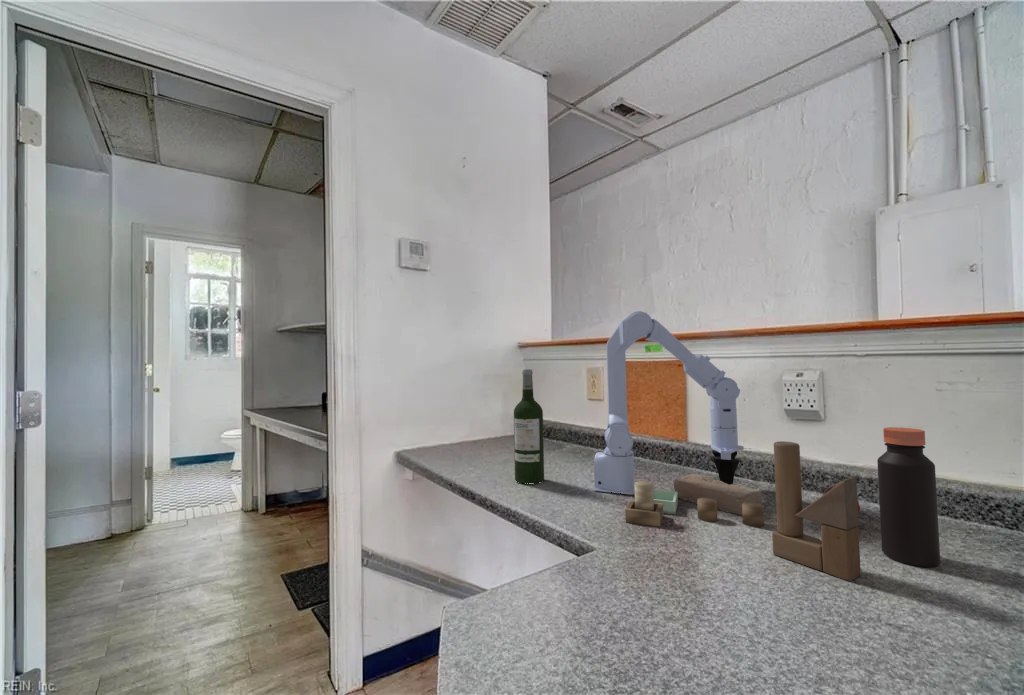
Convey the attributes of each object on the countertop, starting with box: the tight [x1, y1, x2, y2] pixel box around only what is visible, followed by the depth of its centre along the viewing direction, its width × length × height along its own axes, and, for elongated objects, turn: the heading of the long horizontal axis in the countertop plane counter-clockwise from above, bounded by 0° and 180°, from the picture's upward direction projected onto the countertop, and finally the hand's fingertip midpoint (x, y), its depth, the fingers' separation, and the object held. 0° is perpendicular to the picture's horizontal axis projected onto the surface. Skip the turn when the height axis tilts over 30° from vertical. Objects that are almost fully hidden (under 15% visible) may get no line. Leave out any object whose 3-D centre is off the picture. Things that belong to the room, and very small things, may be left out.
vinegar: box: [876, 426, 941, 568], centre depth 69 cm, size 7×7×20 cm
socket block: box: [624, 499, 664, 528], centre depth 88 cm, size 6×6×2 cm
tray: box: [653, 488, 679, 515], centre depth 95 cm, size 6×8×2 cm
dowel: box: [634, 480, 654, 511], centre depth 88 cm, size 4×4×7 cm
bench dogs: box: [696, 498, 765, 528], centre depth 86 cm, size 12×4×4 cm, turn 66°
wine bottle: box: [513, 368, 545, 485], centre depth 119 cm, size 8×8×30 cm
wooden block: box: [771, 441, 862, 582], centre depth 68 cm, size 4×11×18 cm, turn 31°
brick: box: [673, 473, 763, 516], centre depth 98 cm, size 17×8×5 cm, turn 34°
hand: (726, 484), depth 105 cm, fingers open, 7 cm apart
